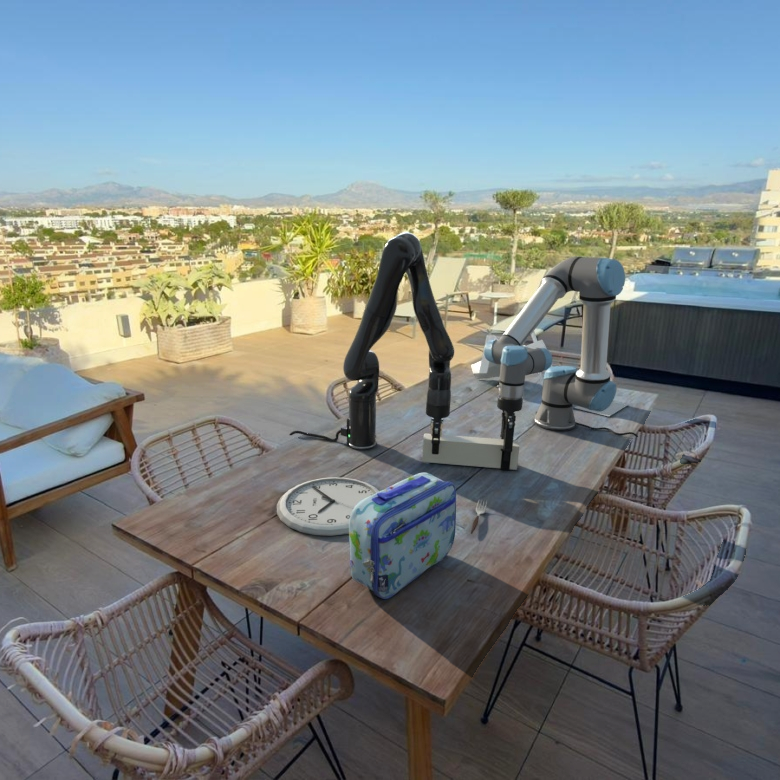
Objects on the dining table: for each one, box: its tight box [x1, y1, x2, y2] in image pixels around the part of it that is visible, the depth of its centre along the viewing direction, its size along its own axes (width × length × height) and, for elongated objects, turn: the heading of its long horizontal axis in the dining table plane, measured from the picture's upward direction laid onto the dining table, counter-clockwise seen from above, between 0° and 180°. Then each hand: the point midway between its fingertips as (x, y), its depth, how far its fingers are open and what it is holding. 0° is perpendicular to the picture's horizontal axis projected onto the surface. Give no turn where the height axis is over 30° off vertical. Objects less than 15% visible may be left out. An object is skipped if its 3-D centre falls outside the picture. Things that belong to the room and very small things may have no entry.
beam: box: [421, 432, 520, 471], centre depth 168 cm, size 30×5×8 cm, turn 83°
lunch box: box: [348, 471, 457, 600], centre depth 113 cm, size 26×11×21 cm, turn 134°
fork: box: [470, 498, 488, 535], centre depth 136 cm, size 3×16×2 cm, turn 160°
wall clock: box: [276, 476, 381, 537], centre depth 142 cm, size 30×2×30 cm
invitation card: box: [573, 400, 629, 418], centre depth 226 cm, size 21×1×15 cm
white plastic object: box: [470, 330, 554, 388], centre depth 255 cm, size 37×45×31 cm
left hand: (435, 450), depth 169 cm, fingers closed on beam, 5 cm apart
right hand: (504, 464), depth 168 cm, fingers closed on beam, 5 cm apart
